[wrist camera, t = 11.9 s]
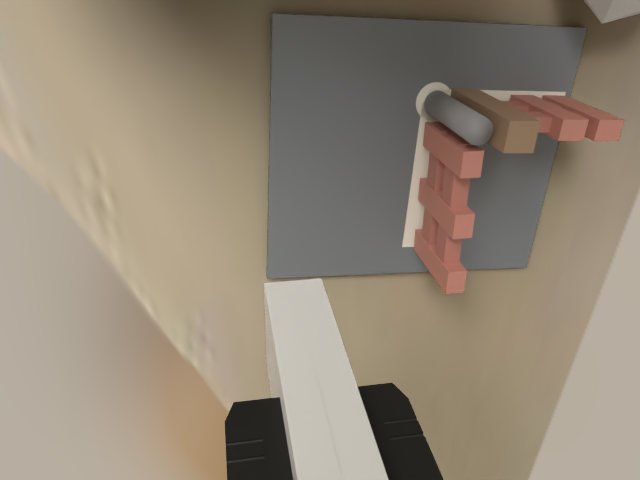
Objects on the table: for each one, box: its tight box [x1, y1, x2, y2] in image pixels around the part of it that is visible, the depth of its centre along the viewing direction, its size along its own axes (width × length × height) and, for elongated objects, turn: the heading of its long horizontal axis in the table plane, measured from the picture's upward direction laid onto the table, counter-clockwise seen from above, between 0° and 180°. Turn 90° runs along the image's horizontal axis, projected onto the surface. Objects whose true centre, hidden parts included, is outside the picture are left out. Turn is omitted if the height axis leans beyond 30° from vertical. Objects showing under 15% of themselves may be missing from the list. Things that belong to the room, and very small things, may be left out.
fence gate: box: [414, 90, 493, 294], centre depth 41 cm, size 13×2×7 cm, turn 0°
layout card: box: [267, 13, 588, 279], centre depth 44 cm, size 20×23×1 cm
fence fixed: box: [451, 88, 624, 153], centre depth 39 cm, size 9×2×9 cm, turn 86°
